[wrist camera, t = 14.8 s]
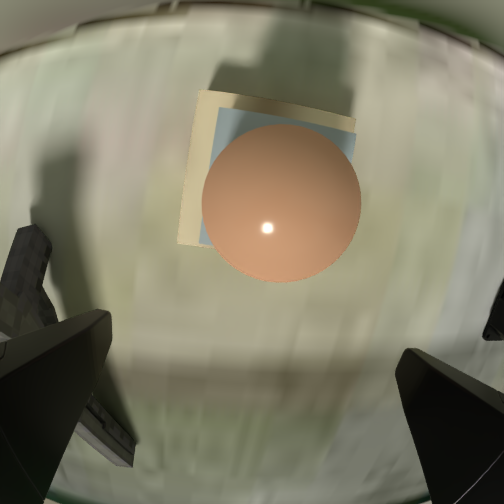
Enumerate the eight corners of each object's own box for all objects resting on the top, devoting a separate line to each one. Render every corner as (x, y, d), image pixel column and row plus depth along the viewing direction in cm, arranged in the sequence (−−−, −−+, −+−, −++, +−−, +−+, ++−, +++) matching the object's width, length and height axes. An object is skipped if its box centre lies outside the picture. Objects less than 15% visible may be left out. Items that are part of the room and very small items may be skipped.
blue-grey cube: (324, 139, 17) (356, 134, 12) (306, 232, 19) (329, 263, 13) (226, 121, 17) (218, 106, 11) (211, 217, 18) (198, 243, 13)
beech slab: (343, 122, 19) (355, 118, 17) (317, 253, 22) (325, 265, 19) (204, 97, 18) (199, 89, 16) (184, 233, 21) (176, 243, 19)
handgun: (50, 215, 20) (-23, 306, 11) (149, 400, 33) (140, 477, 25) (16, 224, 20) (-56, 307, 12) (120, 400, 33) (107, 473, 25)
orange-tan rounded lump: (341, 157, 12) (382, 160, 8) (303, 258, 13) (325, 299, 9) (236, 118, 12) (232, 102, 8) (200, 224, 13) (182, 255, 9)
